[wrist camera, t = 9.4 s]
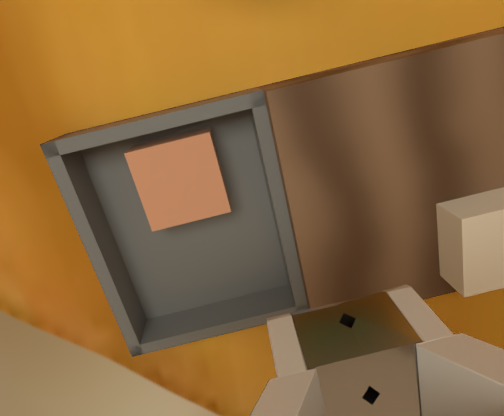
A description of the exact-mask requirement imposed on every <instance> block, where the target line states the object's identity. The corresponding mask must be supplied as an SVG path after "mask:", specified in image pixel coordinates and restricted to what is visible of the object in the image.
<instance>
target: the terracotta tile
mask: <svg viewBox="0 0 504 416" xmlns="http://www.w3.org/2000/svg"><path fill="white" fill-rule="evenodd" d="M124 155H125V158H126V160H127V163H128V166H129V169H130V172H131V174H132V177H133V180H134V183H135V185H136V188H137V191H138V194H139V196H140V199H141V202H142V205H143V207H144V210H145V213H146V216H147V219H148V221H149V224H150V227H151V230H152V232H153V231H157V230H161V229H165V228H169V227H173V226H177V225H181V224H185V223H189V222H193V221H197V220H201V219H205V218H209V217H213V216H217V215H221V214H225V213H229V212H231V204H230V197H229V193H228V189H227V186H226V182H225V178H224V175H223V171H222V167H221V164H220V160H219V156H218V153H217V149H216V145H215V141H214V138H213V134H212V130H211V127H210V126H208V127H204V128H200V129H196V130H192V131H188V132H184V133H180V134H176V135H172V136H168V137H164V138H160V139H156V140H152V141H148V142H144V143H140V144H136V145H133V146H132V147H131V148H130V149H129V150H127V151H126V152H125V153H124Z"/></svg>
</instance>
